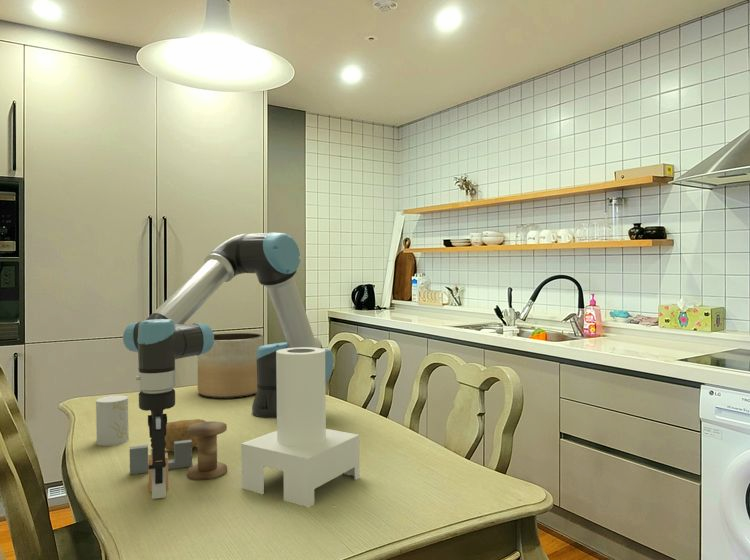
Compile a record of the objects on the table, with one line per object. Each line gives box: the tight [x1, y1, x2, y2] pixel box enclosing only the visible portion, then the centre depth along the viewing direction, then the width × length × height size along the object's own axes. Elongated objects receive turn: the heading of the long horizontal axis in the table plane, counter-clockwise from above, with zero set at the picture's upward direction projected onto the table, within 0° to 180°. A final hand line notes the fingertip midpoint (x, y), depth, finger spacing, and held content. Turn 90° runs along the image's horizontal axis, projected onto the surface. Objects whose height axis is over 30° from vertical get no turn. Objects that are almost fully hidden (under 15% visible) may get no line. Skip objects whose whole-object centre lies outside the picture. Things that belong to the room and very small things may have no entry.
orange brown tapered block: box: [147, 452, 169, 493], centre depth 123 cm, size 4×4×7 cm
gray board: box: [129, 440, 193, 476], centre depth 135 cm, size 14×2×6 cm, turn 113°
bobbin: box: [187, 420, 228, 481], centre depth 132 cm, size 9×9×11 cm
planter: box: [197, 332, 264, 399], centre depth 218 cm, size 25×25×22 cm
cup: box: [95, 395, 130, 447], centre depth 157 cm, size 8×8×12 cm
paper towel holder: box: [240, 347, 361, 508], centre depth 125 cm, size 19×19×30 cm
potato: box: [165, 418, 207, 452], centre depth 149 cm, size 10×14×8 cm
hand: (158, 486), depth 123 cm, fingers open, 12 cm apart
